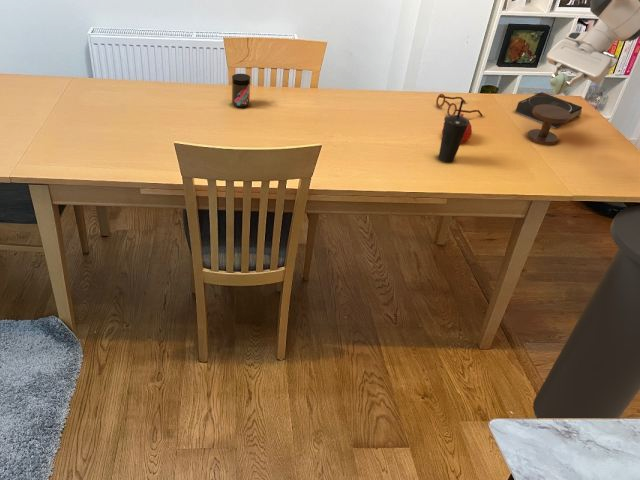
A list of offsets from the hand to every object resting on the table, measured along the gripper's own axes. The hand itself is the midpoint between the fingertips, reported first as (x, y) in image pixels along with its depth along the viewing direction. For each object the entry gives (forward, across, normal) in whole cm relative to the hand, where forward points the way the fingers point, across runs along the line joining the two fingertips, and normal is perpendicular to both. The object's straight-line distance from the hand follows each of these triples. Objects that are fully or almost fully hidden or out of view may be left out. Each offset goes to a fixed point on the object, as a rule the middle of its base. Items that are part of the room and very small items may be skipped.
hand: (560, 81), depth 188 cm
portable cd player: (0, +14, -31) cm, 35 cm away
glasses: (+20, +32, -11) cm, 39 cm away
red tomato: (+33, +15, +2) cm, 36 cm away
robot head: (+3, 0, -4) cm, 5 cm away
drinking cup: (+42, +5, +11) cm, 44 cm away
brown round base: (+12, +2, -18) cm, 22 cm away
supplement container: (+72, +70, +41) cm, 108 cm away
